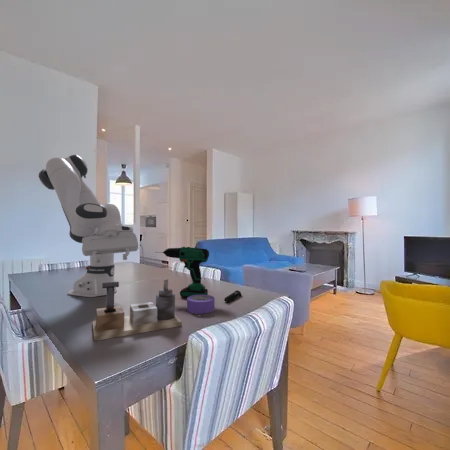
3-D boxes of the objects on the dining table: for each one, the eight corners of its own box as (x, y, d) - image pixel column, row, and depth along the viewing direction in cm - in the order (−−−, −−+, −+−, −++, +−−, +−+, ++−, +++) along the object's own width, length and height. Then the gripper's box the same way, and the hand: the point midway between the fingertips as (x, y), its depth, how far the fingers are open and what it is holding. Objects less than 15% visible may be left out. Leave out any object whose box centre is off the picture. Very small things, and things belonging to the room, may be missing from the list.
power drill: (205, 299, 126) (206, 247, 126) (150, 295, 132) (151, 245, 132) (208, 296, 131) (209, 246, 131) (155, 292, 137) (156, 244, 137)
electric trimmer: (221, 303, 123) (222, 296, 123) (235, 295, 137) (235, 289, 137) (229, 304, 121) (229, 297, 121) (242, 296, 135) (242, 290, 135)
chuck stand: (94, 341, 80) (95, 290, 80) (92, 325, 93) (93, 281, 92) (181, 325, 94) (182, 282, 94) (170, 313, 106) (170, 275, 106)
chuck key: (101, 322, 86) (102, 283, 86) (101, 319, 89) (102, 282, 89) (118, 319, 89) (119, 282, 89) (117, 317, 91) (118, 280, 91)
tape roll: (187, 305, 118) (188, 294, 118) (213, 305, 119) (214, 294, 119) (185, 314, 106) (186, 301, 106) (214, 314, 107) (215, 301, 107)
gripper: (81, 230, 102) (79, 258, 93) (136, 226, 110) (139, 252, 101) (83, 241, 106) (81, 269, 97) (136, 237, 114) (139, 262, 105)
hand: (111, 260), depth 99 cm, fingers open, 8 cm apart
